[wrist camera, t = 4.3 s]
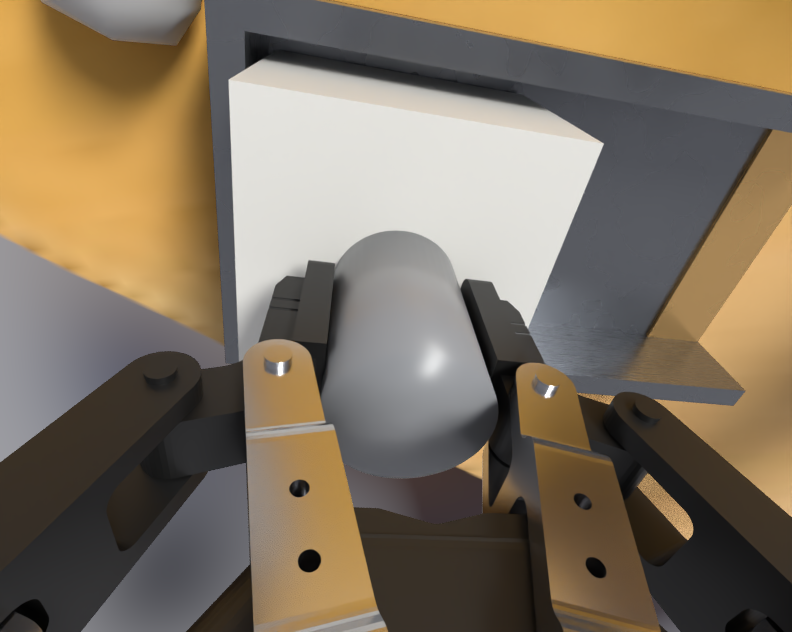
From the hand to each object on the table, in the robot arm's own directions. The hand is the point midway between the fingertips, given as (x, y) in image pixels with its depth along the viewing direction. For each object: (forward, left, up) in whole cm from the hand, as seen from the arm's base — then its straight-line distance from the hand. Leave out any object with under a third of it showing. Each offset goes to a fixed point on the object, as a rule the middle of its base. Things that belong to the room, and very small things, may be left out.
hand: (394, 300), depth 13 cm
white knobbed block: (0, 0, -8) cm, 8 cm away
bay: (0, +6, -9) cm, 11 cm away
